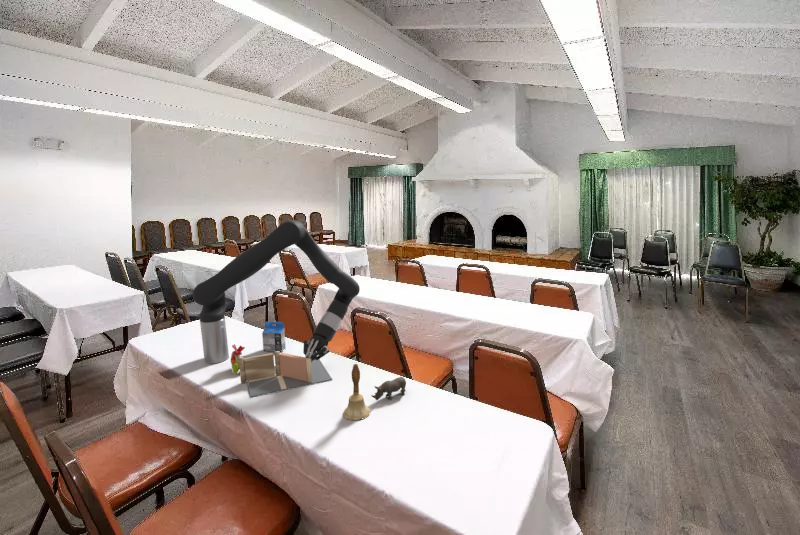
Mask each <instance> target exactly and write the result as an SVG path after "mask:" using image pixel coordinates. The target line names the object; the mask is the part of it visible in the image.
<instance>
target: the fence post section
mask: <svg viewBox="0 0 800 535" xmlns="http://www.w3.org/2000/svg"><path fill="white" fill-rule="evenodd" d="M279 354H281V352H280V351H273V352H270V353H266V354H260V355H254V356H249V357H243V356H240V358H239V368H240V370H239V378H240V383H241V384H246V383H247V382H248V381H250V380H255V379H260V378H265V377H270V376H275V369H274V366H276V376H281V369H280V357H279Z"/></svg>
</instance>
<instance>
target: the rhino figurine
mask: <svg viewBox="0 0 800 535" xmlns="http://www.w3.org/2000/svg"><path fill="white" fill-rule="evenodd" d="M406 385H407V381H406V379H405V378H404V376H399V377H396V378H394V379H392V380H385V381H383V383H382V384H381V385H379V386H376V385H374V389H376V392H375V393H374V395H373V394H371V397H372V398H374V400H376V401H378V400H379V399H381V398H382V397H383V395H384V394H385V393H386V394H385V396H386V397H387V396H389V397H387V400H388V401H392V399H393V397H392V394H393V393H396V392H398V391H400V396H405V395H406V393H405V392H406Z"/></svg>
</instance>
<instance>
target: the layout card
mask: <svg viewBox="0 0 800 535" xmlns="http://www.w3.org/2000/svg"><path fill="white" fill-rule="evenodd" d="M311 364H312V379H313V381H312V382H307V381H303V380H298V379H294V378H290V377H285V376H276V366H275V365H274V369H275V376H270V377H265V378H260V379H255V380H250V381H247V385H248V390H249V396H250V398H254V396H255V397H259V396H258V395H260V396H264V395H268V393H269V394H273V392H274V393H278V392H283V391H287V390H291V389H298V388H301V387H306V385H307V386H311V385H315V383H316V384H320V382H321V383H324V382H329V380H330V381H333V378H332V376H331V375H330V373H329V372H328V370H327V369H326V367H325V366H324V364H323V363H322V361H321V358H320V359H319V360H313V361H312V363H311ZM310 384H311V385H310ZM263 394H264V395H263Z"/></svg>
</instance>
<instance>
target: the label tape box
mask: <svg viewBox="0 0 800 535" xmlns="http://www.w3.org/2000/svg"><path fill="white" fill-rule="evenodd" d="M264 324H265V327H264V329H263V331H262V332H261V334H262V350H265V351H264V352H275V351H281V352H280V353H283V352H284V351H285V350H286V349H287V347H286V337H285V334H286V332H285V325H284V324H285V323H284V321H265V323H264ZM284 349H285V350H284ZM283 350H284V351H283Z"/></svg>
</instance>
